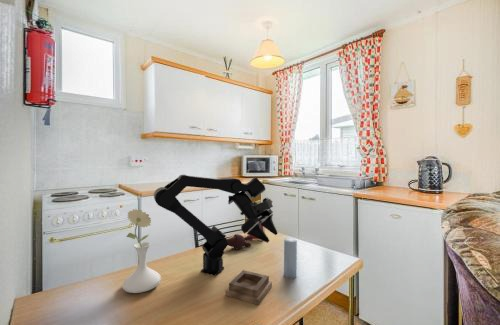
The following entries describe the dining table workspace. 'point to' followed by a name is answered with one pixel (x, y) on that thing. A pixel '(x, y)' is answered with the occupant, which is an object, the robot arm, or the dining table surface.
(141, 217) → the flower in vase
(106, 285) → the dining table surface
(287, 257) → the blue-gray capsule
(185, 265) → the dining table surface
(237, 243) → the dark red lobed figurine
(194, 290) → the dining table surface
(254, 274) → the socket base
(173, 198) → the robot arm
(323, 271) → the dining table surface
